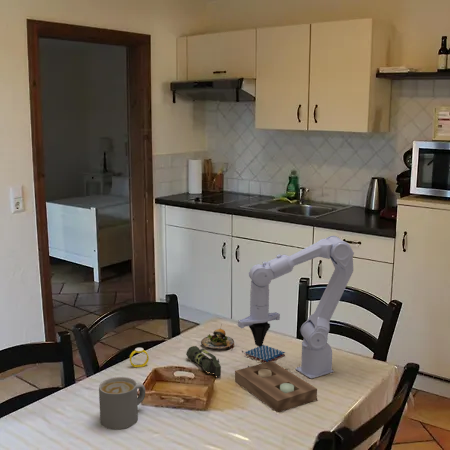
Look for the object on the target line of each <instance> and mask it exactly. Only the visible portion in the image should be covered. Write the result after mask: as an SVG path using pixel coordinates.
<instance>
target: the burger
mask: <svg viewBox="0 0 450 450" xmlns="http://www.w3.org/2000/svg"><path fill="white" fill-rule="evenodd" d="M220 326H222V323H221V325H220ZM212 334H213V335H211V334H210V333H209V334H207V336H205V337H204V338H202V339H201V341H200V343H201V345H203V346H205V347H207V348H209V349H214V350H223V349H227V348H229V349H228V350H232V349H234V346H235V341H234V339H233V338H232V337H230V336H226V331H225V330H224V329H223V328H217V329H215V330H213V332H212Z"/></svg>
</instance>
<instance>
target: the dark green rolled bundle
mask: <svg viewBox="0 0 450 450" xmlns="http://www.w3.org/2000/svg"><path fill="white" fill-rule="evenodd" d="M186 357H187V358H188V360H189V361H190V362H195V363H197V364H198V365H199V366H200V367H202V370H203V371H204V372H205V371H207V372H210V373H214V374H213V375H215V374H216V375H215V376H217V378H221V373H222V372H221V370H222V366H221V363H220V360H219V358H217V357H216V355H214V354H213V353H211V352H209V351H207V350H206V349H204V348H201V349H200V347H198V346H197V345H193V346H190V347H188V349H187V350H186Z"/></svg>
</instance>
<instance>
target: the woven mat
mask: <svg viewBox="0 0 450 450" xmlns="http://www.w3.org/2000/svg"><path fill="white" fill-rule="evenodd" d="M285 353H286V352H285V351H282V350H279V349H277V348H274V347H272V346H268V345H266V344H263V345H262V346H257V347H254V348H251V350H248V351H245V352H244V356H245V357H246V358H249V359H251V360H254V361H257V362H260V363H261V364H262V363H266V362H270V361H273V362H275V361H276V360H279V359H280V358H283V357H285V356H286V354H285Z"/></svg>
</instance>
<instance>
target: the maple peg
mask: <svg viewBox="0 0 450 450" xmlns="http://www.w3.org/2000/svg"><path fill="white" fill-rule="evenodd" d="M271 373H272V372H271V371H270V370H268V369H261V370H259V371H258V375H259V376H260V377H262V378H266V377H269V376H271Z"/></svg>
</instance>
